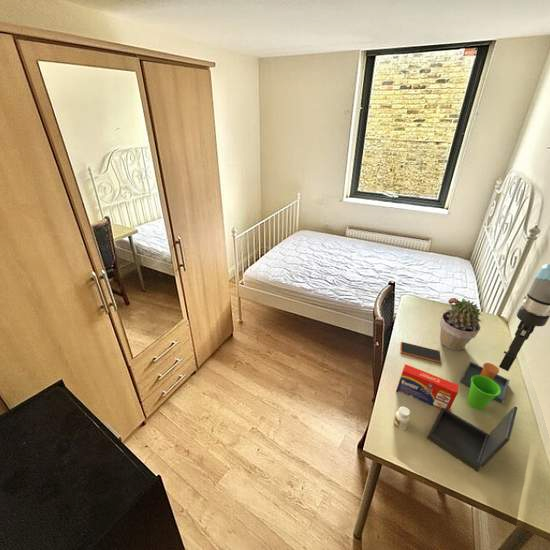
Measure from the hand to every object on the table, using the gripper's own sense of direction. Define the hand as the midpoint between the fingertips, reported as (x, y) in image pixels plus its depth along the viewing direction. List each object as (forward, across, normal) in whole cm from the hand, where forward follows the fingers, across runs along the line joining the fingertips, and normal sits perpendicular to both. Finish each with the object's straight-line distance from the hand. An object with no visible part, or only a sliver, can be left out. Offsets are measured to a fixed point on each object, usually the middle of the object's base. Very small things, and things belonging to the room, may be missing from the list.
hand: (508, 358), depth 103 cm
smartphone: (+19, -3, -28) cm, 34 cm away
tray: (+19, -6, -3) cm, 20 cm away
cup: (+20, +8, -2) cm, 22 cm away
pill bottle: (+20, +37, -17) cm, 46 cm away
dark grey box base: (+20, +28, -2) cm, 35 cm away
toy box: (+20, +21, -17) cm, 33 cm away
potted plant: (+19, -22, -20) cm, 35 cm away
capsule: (+19, -6, -3) cm, 20 cm away
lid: (+8, +28, +6) cm, 30 cm away
